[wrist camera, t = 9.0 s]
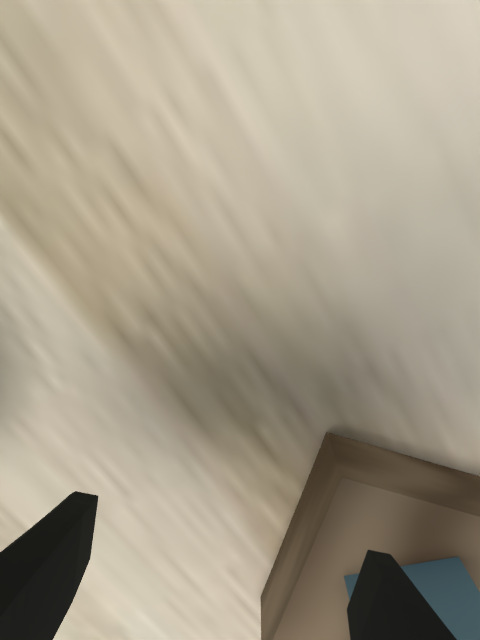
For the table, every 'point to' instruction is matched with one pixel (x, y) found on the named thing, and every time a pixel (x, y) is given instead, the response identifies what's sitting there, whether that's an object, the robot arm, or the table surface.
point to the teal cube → (444, 594)
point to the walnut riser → (364, 532)
